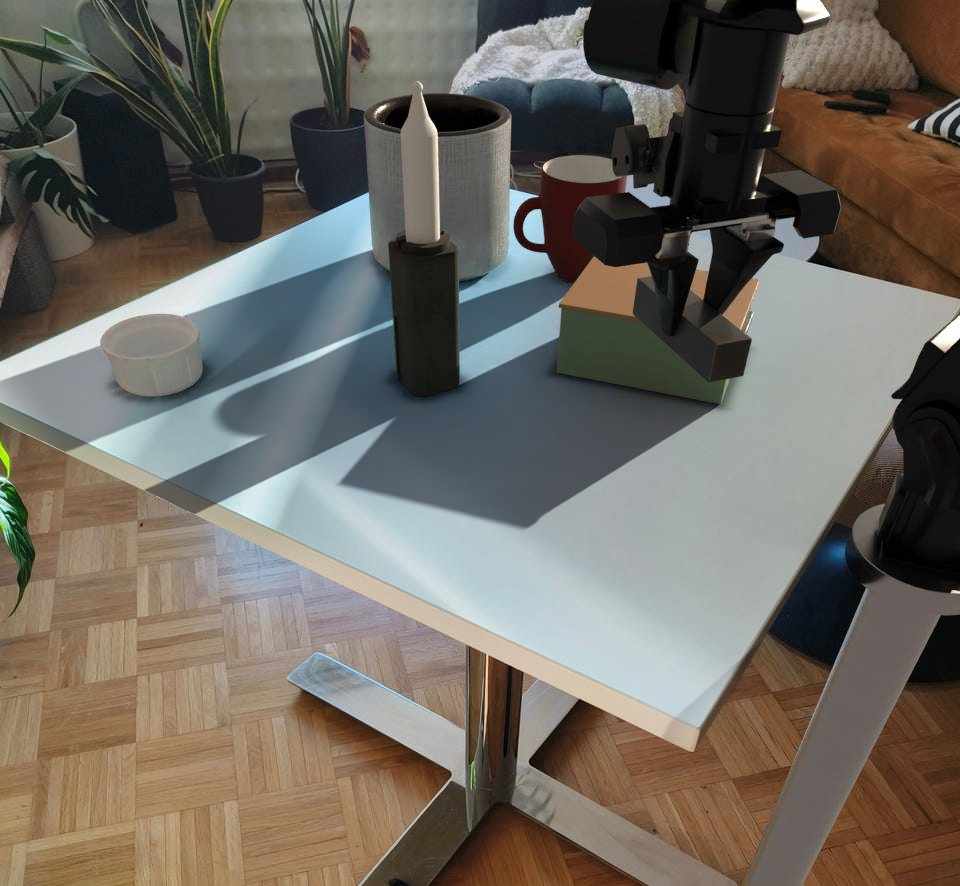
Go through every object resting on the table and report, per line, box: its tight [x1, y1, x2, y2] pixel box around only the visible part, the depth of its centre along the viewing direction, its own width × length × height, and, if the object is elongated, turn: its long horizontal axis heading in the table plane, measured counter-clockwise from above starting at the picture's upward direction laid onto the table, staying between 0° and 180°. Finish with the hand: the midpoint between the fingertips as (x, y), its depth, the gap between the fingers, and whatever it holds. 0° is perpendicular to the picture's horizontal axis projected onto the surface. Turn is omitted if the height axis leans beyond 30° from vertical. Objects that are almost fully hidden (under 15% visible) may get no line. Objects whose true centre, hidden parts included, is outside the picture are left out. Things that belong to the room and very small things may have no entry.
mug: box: [513, 154, 628, 283], centre depth 99 cm, size 12×9×11 cm
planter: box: [363, 92, 512, 282], centre depth 101 cm, size 16×16×16 cm
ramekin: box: [99, 313, 204, 397], centre depth 84 cm, size 9×9×4 cm
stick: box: [633, 276, 753, 383], centre depth 69 cm, size 12×3×3 cm, turn 21°
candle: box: [388, 80, 461, 397], centre depth 77 cm, size 5×5×25 cm
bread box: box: [556, 256, 760, 405], centre depth 87 cm, size 17×12×7 cm
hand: (687, 331), depth 69 cm, fingers closed on stick, 3 cm apart
